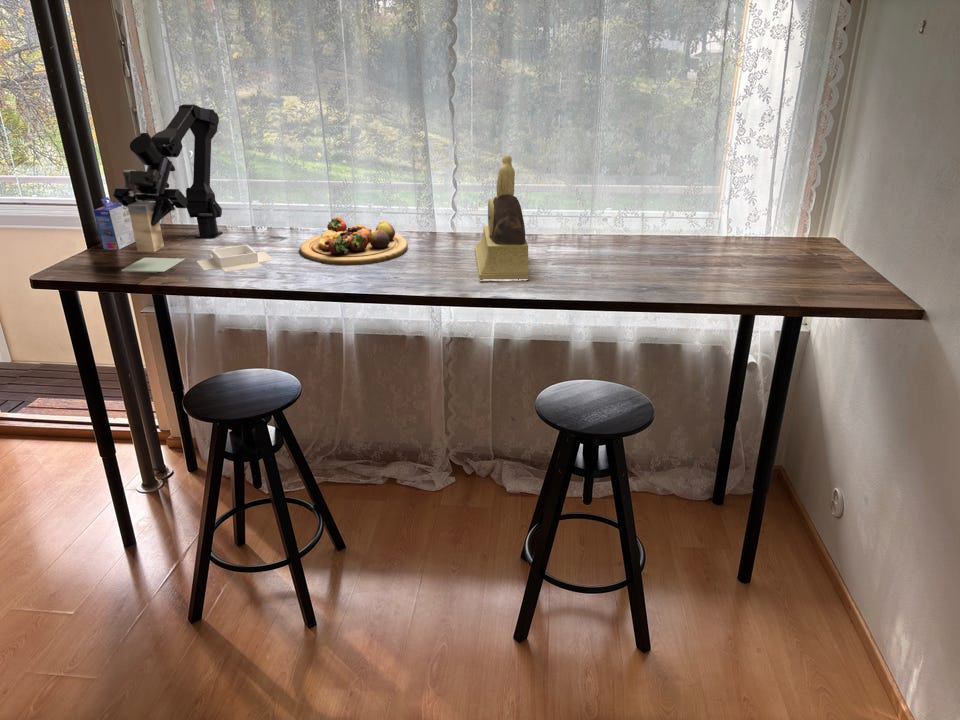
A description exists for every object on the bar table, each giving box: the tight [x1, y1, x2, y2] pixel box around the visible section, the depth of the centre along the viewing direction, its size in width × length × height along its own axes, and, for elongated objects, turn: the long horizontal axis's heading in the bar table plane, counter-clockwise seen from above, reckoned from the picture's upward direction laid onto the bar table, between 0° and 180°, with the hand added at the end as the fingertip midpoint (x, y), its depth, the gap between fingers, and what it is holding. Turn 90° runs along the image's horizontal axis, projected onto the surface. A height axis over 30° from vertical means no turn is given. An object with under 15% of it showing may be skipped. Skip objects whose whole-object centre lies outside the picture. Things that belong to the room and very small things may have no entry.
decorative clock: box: [474, 154, 530, 280], centre depth 190 cm, size 28×13×30 cm, turn 3°
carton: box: [196, 244, 275, 273], centre depth 199 cm, size 19×19×3 cm
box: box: [127, 201, 165, 253], centre depth 192 cm, size 5×5×12 cm
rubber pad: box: [121, 257, 185, 273], centre depth 196 cm, size 12×12×1 cm
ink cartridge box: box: [93, 196, 136, 251], centre depth 212 cm, size 10×6×14 cm, turn 174°
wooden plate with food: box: [299, 216, 409, 266], centre depth 210 cm, size 32×32×8 cm
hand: (143, 224), depth 190 cm, fingers closed on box, 5 cm apart
